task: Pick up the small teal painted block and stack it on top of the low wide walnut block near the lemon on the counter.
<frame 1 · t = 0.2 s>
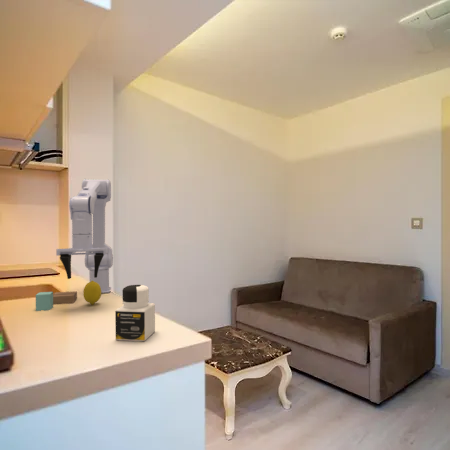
hand: (82, 277, 104), 10 cm above the counter, tool pointing down, fingers open, 7 cm apart
teal block: (44, 309, 105), on the counter
lemon: (92, 305, 110), on the counter
medicine bottle: (136, 336, 79), on the counter
walnut block: (64, 302, 115), on the counter
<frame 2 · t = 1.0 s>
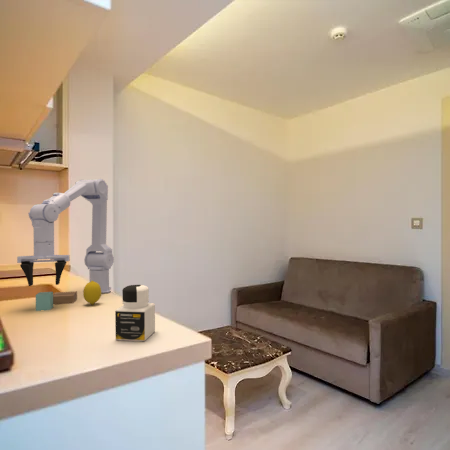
hand: (44, 284, 105), 8 cm above the counter, tool pointing down, fingers open, 7 cm apart
nothing on the counter moved.
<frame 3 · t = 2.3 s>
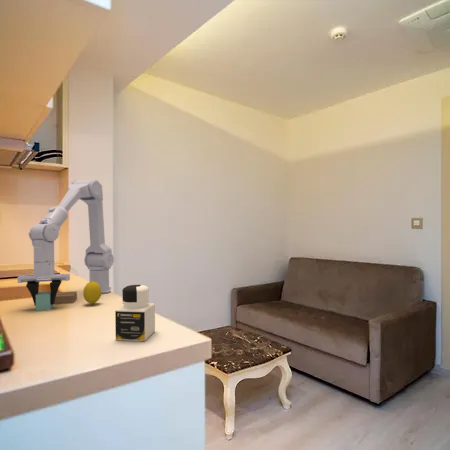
hand: (44, 304, 105), 1 cm above the counter, tool pointing down, fingers closed on teal block, 4 cm apart
teal block: (44, 308, 105), on the counter, touching gripper
everything else where it was.
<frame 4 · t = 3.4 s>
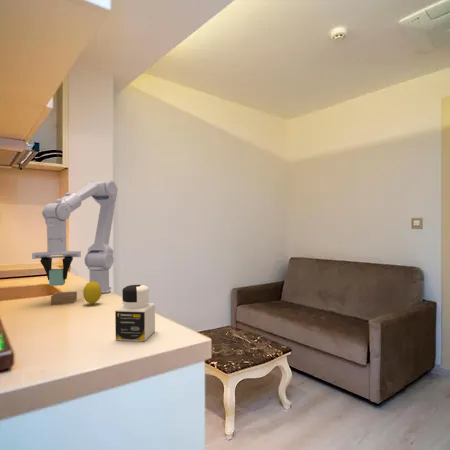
hand: (57, 279, 111), 8 cm above the counter, tool pointing down, fingers closed on teal block, 4 cm apart
teal block: (57, 284, 111), point 7 cm above the counter, touching gripper
everything else where it was.
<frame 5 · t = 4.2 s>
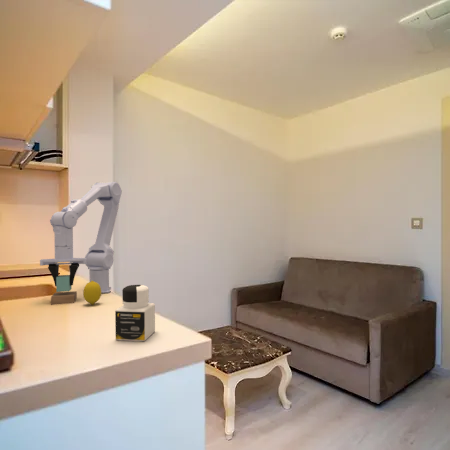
hand: (64, 285, 115), 6 cm above the counter, tool pointing down, fingers closed on teal block, 4 cm apart
teal block: (64, 290, 114), point 4 cm above the counter, touching gripper
everything else where it was.
when the fingers open (5 cm above the counter, at t = 4.6 s): teal block drops 1 cm, point 3 cm above the counter.
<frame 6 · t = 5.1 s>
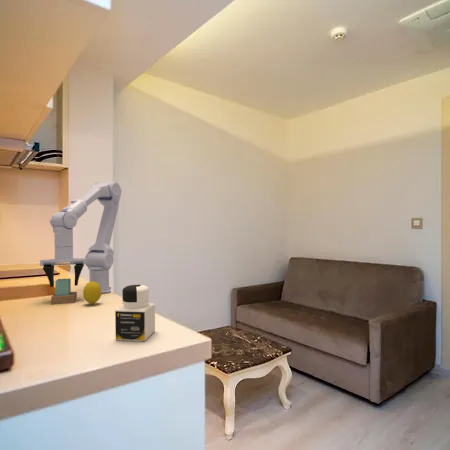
hand: (64, 285, 115), 5 cm above the counter, tool pointing down, fingers open, 7 cm apart
teal block: (63, 294, 115), point 3 cm above the counter
everything else where it was.
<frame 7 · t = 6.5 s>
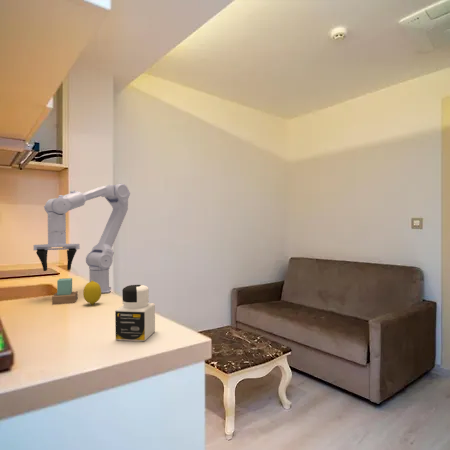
hand: (57, 270, 118), 10 cm above the counter, tool pointing down, fingers open, 7 cm apart
teal block: (64, 293, 115), point 3 cm above the counter, touching walnut block
walnut block: (65, 302, 115), on the counter, touching teal block
everything else where it was.
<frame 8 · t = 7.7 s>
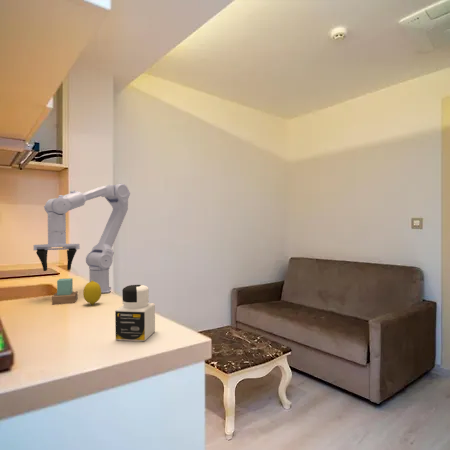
hand: (57, 270, 118), 10 cm above the counter, tool pointing down, fingers open, 7 cm apart
nothing on the counter moved.
at the end: teal block 0.2 cm off-centre on the walnut block, point 3.0 cm above the walnut block's base; teal block tilted 0°; the gripper is holding nothing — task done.
